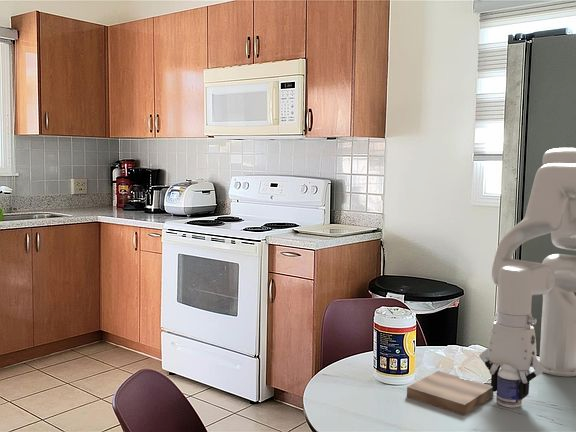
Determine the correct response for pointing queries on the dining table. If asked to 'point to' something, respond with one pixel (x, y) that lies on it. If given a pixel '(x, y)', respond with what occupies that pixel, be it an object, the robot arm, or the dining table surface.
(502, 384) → the pill bottle
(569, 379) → the dining table surface
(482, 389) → the walnut board
